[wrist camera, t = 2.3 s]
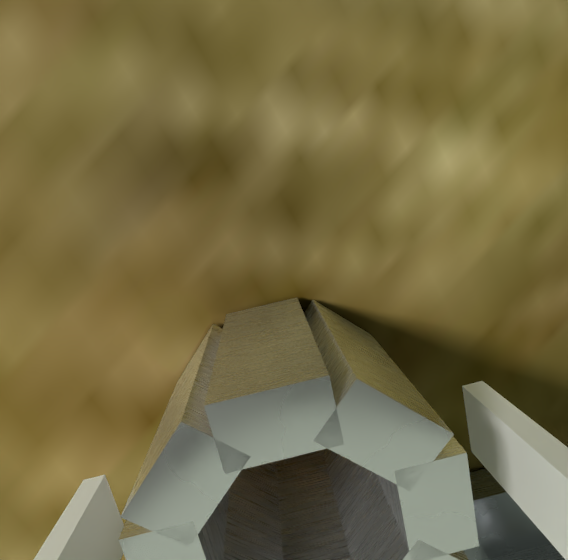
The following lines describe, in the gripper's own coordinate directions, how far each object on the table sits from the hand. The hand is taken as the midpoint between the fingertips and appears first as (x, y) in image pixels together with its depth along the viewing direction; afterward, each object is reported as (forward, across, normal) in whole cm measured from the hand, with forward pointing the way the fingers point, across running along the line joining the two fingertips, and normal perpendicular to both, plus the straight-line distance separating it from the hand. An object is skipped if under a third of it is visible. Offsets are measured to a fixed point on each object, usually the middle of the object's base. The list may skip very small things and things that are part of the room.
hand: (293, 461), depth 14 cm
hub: (+3, 0, +1) cm, 3 cm away
